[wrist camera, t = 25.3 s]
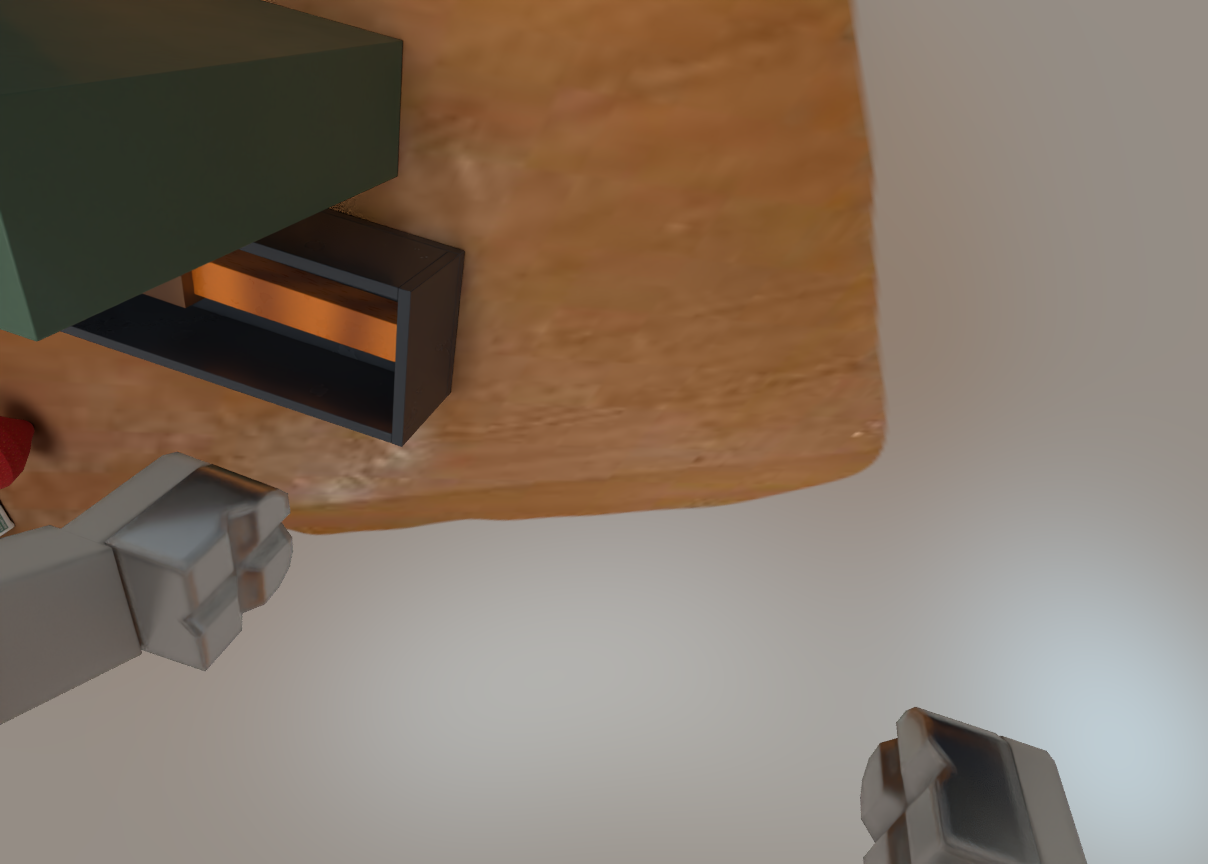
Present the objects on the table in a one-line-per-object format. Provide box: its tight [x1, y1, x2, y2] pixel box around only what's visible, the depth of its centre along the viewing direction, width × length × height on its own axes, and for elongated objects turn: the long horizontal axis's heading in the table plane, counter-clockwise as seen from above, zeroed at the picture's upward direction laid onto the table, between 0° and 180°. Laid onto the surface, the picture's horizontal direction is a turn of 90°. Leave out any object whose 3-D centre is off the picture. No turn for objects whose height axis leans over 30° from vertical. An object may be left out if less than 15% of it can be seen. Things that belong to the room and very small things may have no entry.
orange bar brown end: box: [142, 249, 398, 362], centre depth 50 cm, size 20×4×4 cm, turn 77°
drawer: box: [61, 209, 465, 447], centre depth 49 cm, size 30×12×8 cm, turn 77°
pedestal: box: [0, 0, 403, 341], centre depth 33 cm, size 12×8×26 cm, turn 77°
